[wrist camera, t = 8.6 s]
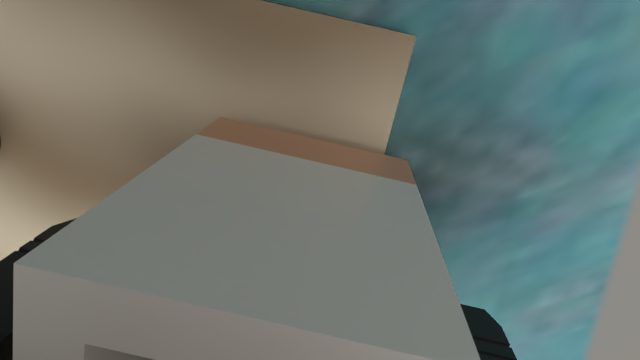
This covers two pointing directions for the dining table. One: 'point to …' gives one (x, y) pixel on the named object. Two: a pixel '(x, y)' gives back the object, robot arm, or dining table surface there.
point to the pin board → (171, 90)
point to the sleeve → (246, 261)
